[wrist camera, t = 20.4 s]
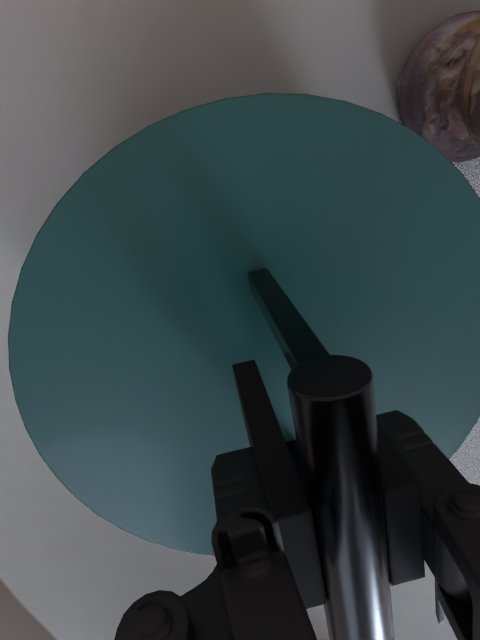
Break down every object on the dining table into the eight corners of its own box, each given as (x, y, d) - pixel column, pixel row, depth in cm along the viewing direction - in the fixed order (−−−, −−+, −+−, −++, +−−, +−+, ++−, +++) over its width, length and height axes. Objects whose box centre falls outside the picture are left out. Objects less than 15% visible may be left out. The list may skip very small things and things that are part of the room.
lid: (105, 578, 21) (57, 896, 12) (-75, 159, 14) (-501, 199, 5) (485, 481, 22) (693, 710, 13) (499, 46, 15) (969, -85, 6)
